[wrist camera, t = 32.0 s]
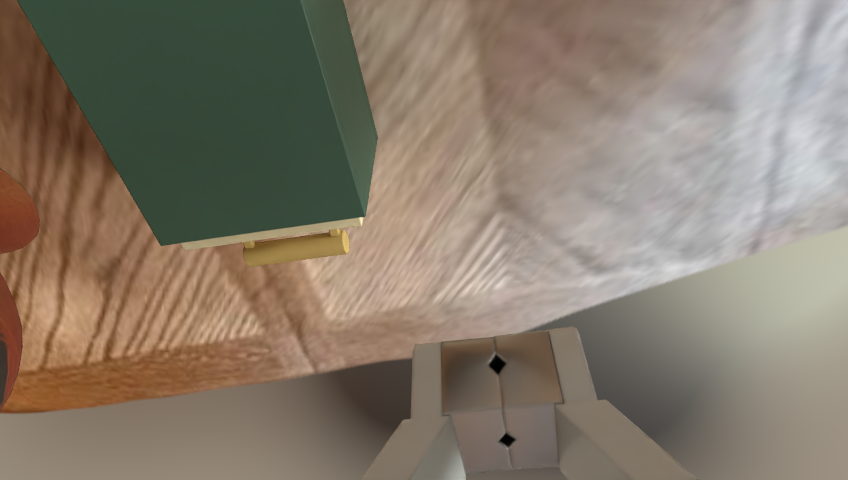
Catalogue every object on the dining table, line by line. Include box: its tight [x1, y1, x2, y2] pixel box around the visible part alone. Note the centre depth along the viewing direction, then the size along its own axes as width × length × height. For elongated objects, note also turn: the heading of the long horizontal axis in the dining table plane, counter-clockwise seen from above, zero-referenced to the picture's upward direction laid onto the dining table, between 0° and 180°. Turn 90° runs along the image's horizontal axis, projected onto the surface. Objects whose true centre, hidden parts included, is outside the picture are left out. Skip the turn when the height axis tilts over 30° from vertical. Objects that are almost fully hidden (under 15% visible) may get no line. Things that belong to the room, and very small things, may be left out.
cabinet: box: [17, 0, 378, 246], centre depth 33 cm, size 16×13×10 cm
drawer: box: [180, 217, 363, 267], centre depth 35 cm, size 18×11×8 cm, turn 10°
